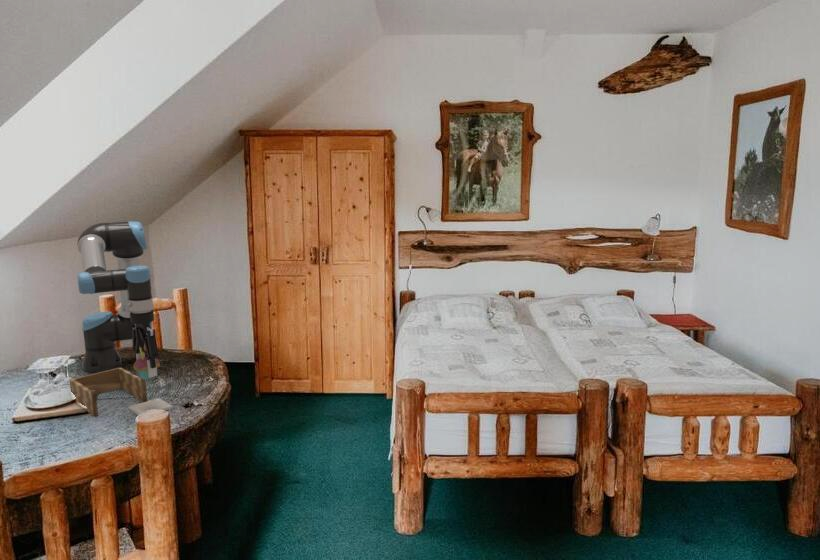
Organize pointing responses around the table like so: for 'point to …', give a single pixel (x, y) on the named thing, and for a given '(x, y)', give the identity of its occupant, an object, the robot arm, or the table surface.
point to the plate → (150, 406)
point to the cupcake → (143, 366)
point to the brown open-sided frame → (106, 386)
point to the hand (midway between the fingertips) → (147, 373)
